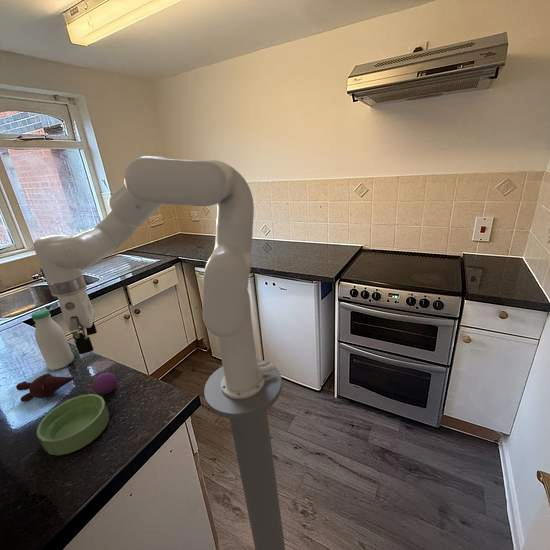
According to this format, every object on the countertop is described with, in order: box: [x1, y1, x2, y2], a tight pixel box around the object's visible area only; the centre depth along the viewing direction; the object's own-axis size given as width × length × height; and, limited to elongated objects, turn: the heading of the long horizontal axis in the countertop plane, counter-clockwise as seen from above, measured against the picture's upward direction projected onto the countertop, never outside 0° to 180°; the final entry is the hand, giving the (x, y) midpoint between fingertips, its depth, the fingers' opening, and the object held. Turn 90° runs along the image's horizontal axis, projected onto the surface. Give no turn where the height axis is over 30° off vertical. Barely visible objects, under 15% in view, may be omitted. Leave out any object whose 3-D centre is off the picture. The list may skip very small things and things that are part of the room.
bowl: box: [36, 393, 110, 456], centre depth 74 cm, size 14×14×5 cm
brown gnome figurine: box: [15, 373, 75, 403], centre depth 87 cm, size 7×7×15 cm
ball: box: [92, 372, 118, 396], centre depth 86 cm, size 6×6×6 cm
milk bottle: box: [31, 308, 75, 371], centre depth 99 cm, size 8×8×20 cm
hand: (88, 342), depth 81 cm, fingers open, 9 cm apart
